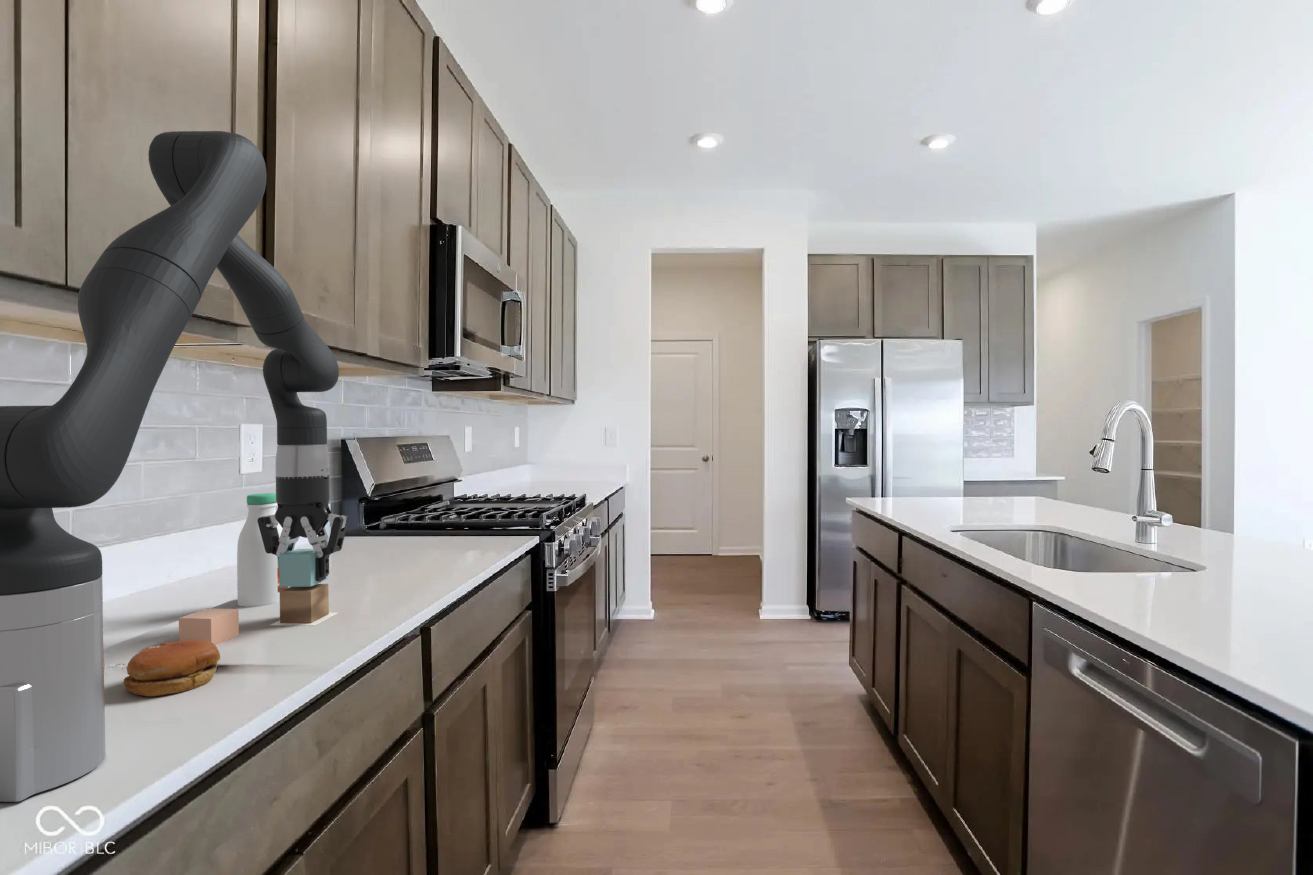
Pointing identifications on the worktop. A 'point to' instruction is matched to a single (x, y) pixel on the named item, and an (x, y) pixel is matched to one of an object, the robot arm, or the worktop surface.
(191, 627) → the terracotta block
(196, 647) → the burger
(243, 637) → the worktop surface
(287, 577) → the teal block
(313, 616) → the walnut block
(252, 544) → the milk bottle
